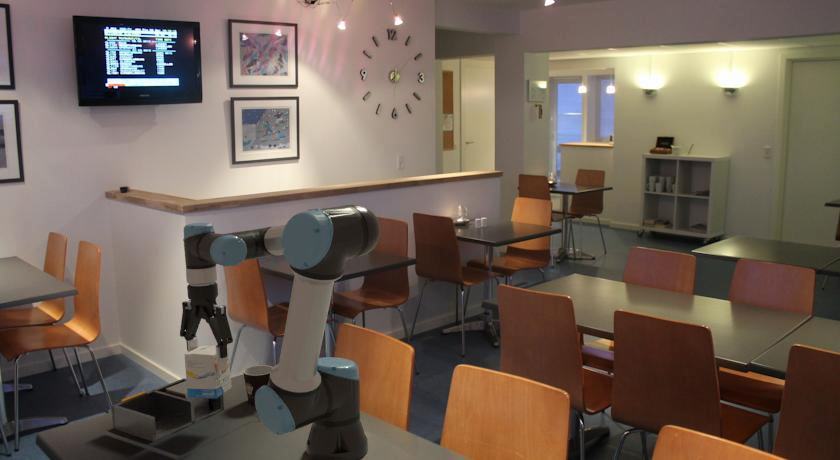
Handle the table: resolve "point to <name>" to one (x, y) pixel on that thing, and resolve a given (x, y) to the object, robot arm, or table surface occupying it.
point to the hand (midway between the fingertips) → (207, 366)
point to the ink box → (206, 373)
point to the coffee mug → (256, 380)
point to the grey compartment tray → (159, 413)
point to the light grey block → (181, 391)
